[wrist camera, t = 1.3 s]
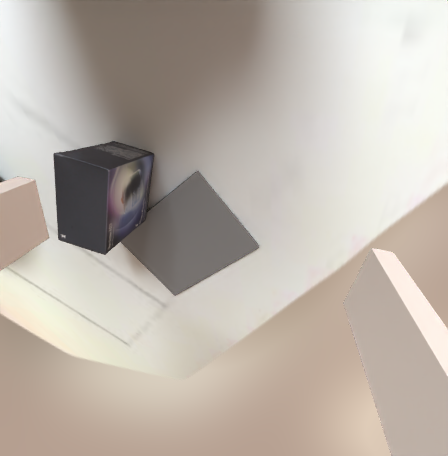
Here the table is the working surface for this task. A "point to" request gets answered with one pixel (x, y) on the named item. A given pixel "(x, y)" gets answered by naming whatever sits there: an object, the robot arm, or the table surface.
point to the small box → (101, 194)
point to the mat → (189, 236)
